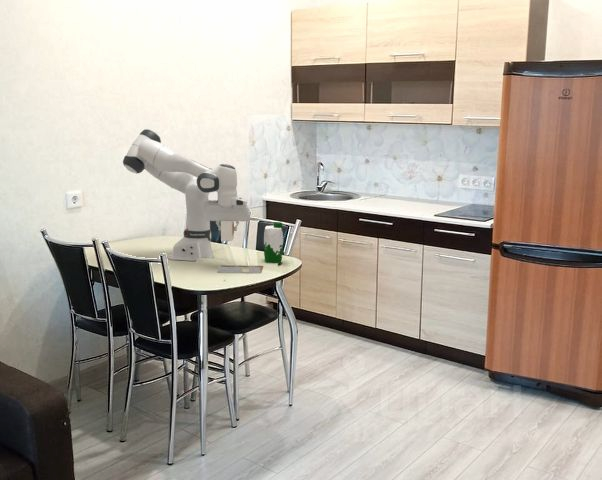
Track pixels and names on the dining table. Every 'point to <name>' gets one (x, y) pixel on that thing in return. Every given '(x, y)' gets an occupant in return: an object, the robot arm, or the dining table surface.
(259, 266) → the shelf board
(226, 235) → the carton
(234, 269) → the rail
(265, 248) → the milk carton
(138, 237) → the dining table surface
